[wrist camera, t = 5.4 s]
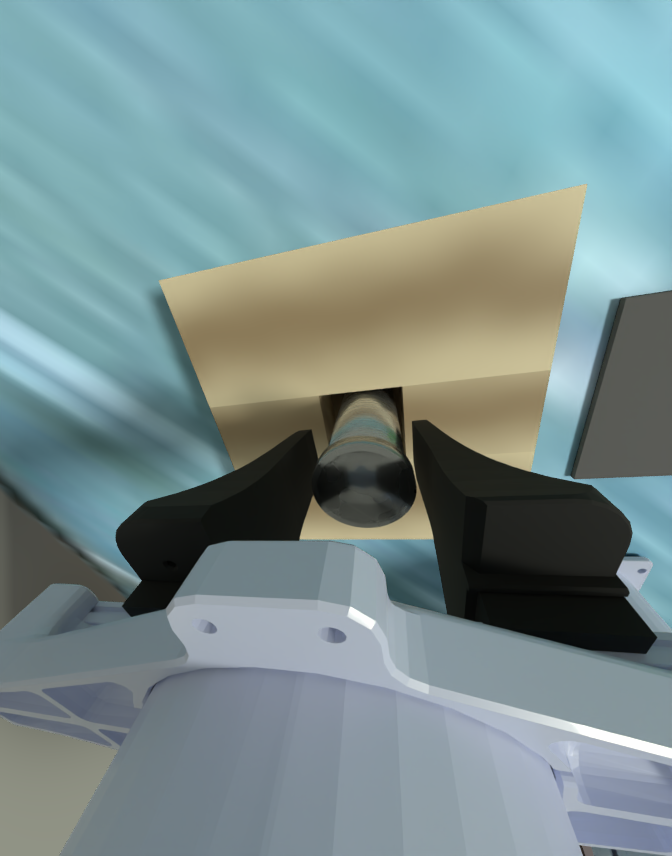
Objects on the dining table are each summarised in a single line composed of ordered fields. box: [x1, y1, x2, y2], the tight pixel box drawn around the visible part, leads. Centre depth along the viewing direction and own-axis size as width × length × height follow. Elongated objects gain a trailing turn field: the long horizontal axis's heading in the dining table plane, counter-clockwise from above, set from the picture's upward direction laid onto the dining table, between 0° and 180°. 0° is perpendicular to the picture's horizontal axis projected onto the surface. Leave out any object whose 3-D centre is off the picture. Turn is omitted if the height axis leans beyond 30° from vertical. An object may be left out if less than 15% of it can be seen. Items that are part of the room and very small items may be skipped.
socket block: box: [159, 184, 587, 539], centre depth 15 cm, size 16×16×3 cm
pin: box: [311, 388, 417, 528], centre depth 12 cm, size 3×3×8 cm
